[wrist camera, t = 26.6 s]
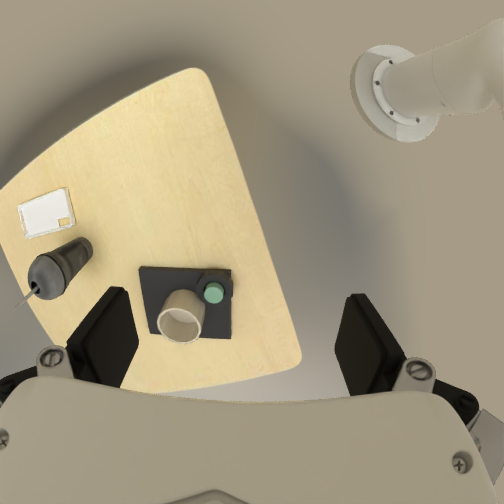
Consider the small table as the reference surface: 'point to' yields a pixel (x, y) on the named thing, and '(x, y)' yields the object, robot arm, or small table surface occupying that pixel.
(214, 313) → the scale
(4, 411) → the robot arm
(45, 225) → the phone case
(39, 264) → the beverage cup
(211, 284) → the button
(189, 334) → the beige cup
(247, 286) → the small table surface
